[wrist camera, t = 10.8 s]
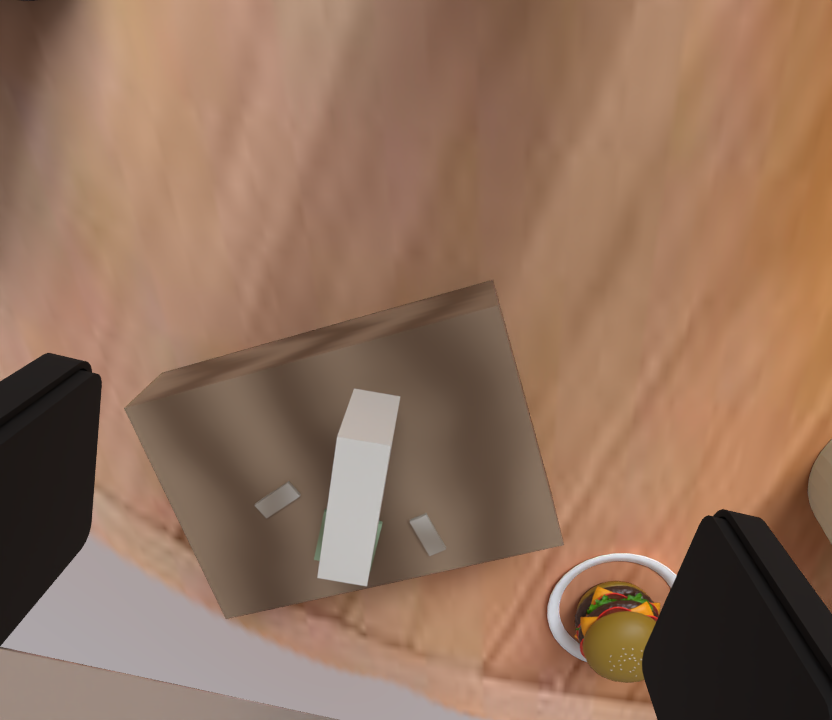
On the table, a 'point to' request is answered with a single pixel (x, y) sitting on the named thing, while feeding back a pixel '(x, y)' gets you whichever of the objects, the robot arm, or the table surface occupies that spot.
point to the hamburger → (610, 620)
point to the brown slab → (316, 441)
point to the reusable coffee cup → (822, 489)
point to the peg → (357, 487)
